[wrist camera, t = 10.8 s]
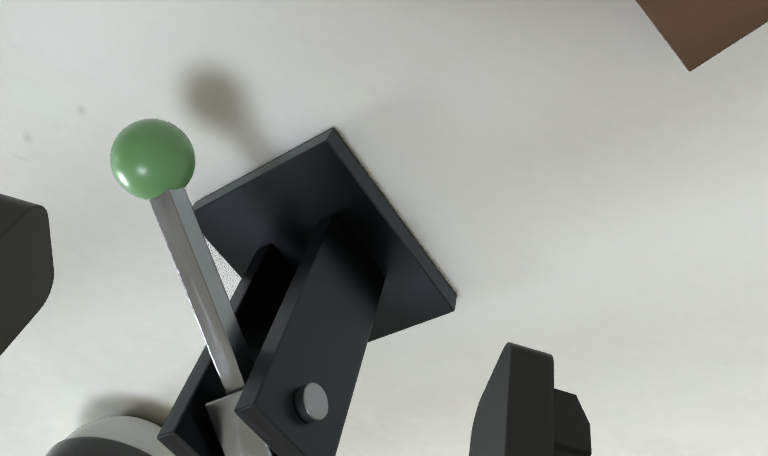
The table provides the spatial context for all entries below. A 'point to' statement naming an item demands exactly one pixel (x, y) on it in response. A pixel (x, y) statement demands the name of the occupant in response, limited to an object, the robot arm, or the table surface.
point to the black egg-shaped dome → (113, 439)
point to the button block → (704, 25)
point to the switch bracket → (305, 296)
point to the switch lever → (190, 264)
